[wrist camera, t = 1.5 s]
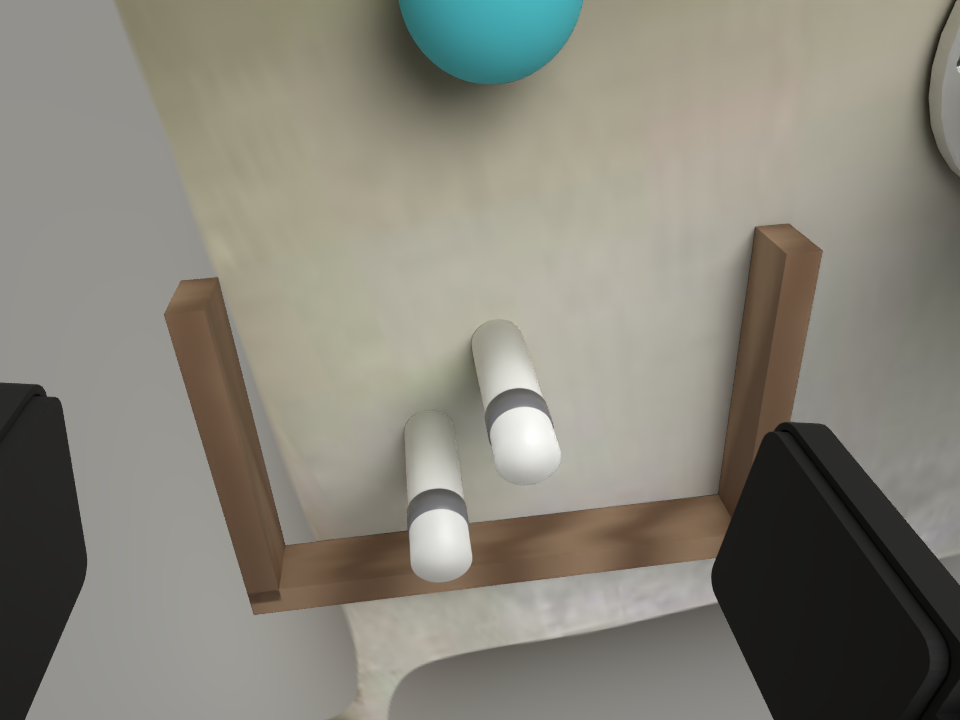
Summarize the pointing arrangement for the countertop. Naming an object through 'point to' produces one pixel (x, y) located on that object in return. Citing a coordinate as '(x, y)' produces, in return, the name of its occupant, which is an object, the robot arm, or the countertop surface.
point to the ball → (490, 35)
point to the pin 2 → (514, 405)
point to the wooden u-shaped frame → (503, 543)
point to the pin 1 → (435, 499)
